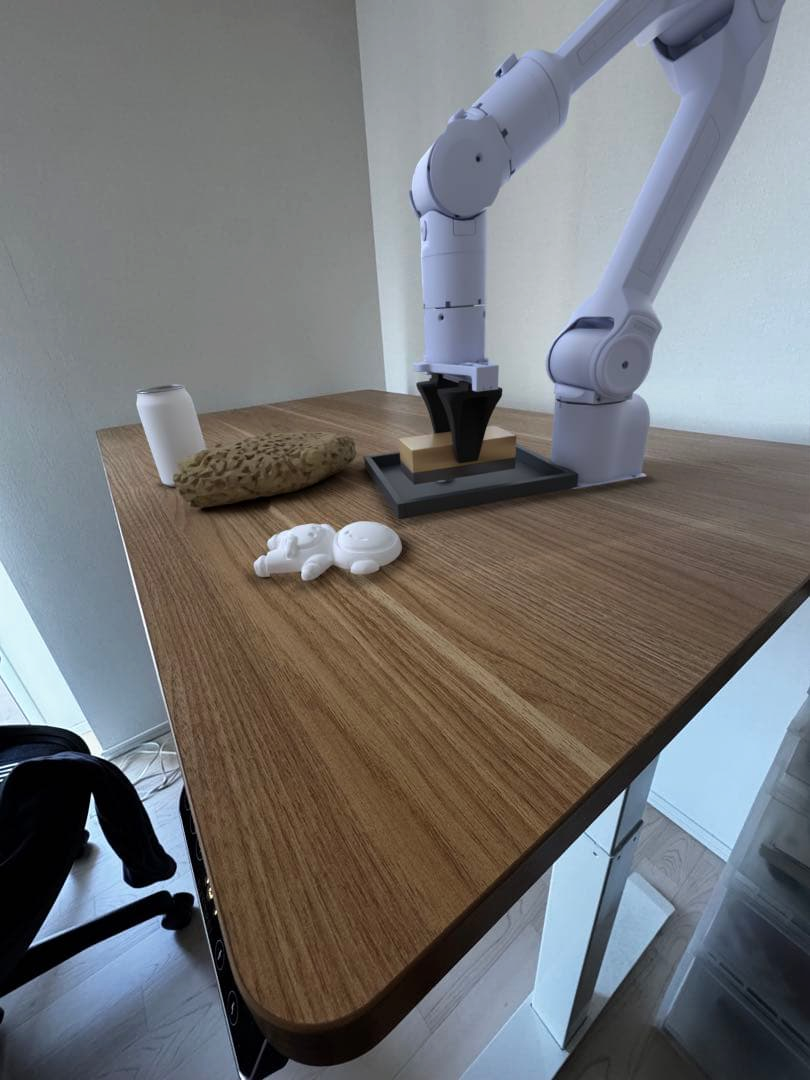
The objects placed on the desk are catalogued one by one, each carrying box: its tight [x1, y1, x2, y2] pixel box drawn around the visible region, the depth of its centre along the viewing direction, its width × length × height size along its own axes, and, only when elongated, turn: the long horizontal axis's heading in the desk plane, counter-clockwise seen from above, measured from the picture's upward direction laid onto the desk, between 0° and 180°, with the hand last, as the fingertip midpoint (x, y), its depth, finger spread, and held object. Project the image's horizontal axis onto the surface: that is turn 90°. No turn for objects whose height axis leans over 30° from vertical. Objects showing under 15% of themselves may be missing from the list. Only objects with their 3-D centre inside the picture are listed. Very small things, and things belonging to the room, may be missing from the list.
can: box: [135, 384, 207, 488], centre depth 58 cm, size 6×6×12 cm
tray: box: [363, 442, 578, 520], centre depth 53 cm, size 20×18×2 cm
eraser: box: [398, 425, 517, 485], centre depth 47 cm, size 11×5×4 cm, turn 105°
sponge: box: [173, 431, 357, 509], centre depth 53 cm, size 13×8×20 cm
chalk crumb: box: [437, 478, 454, 482], centre depth 52 cm, size 2×2×1 cm
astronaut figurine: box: [253, 520, 403, 582], centre depth 38 cm, size 9×12×3 cm
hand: (456, 454), depth 47 cm, fingers closed on eraser, 5 cm apart
